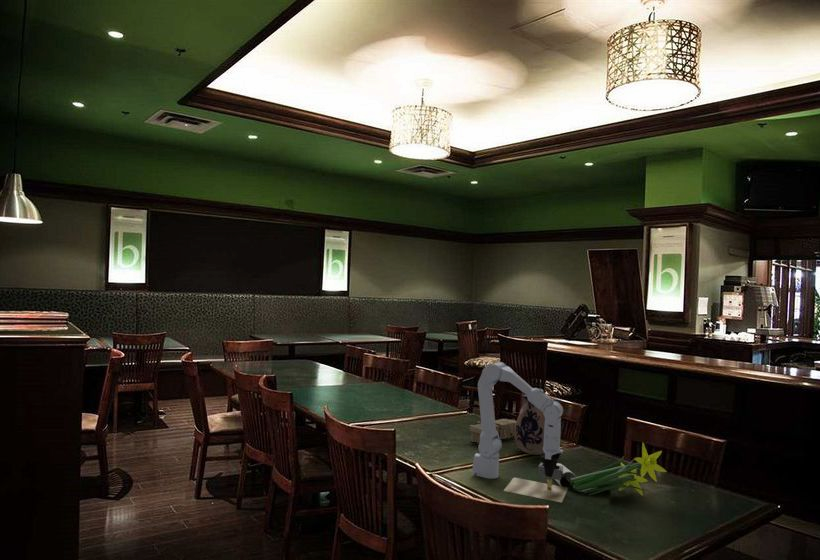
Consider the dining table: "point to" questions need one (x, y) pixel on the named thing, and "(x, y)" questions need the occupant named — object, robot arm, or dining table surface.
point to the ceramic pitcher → (530, 428)
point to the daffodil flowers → (619, 475)
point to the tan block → (502, 426)
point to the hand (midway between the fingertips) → (550, 474)
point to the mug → (566, 474)
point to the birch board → (536, 489)
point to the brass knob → (549, 483)
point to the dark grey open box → (556, 473)
